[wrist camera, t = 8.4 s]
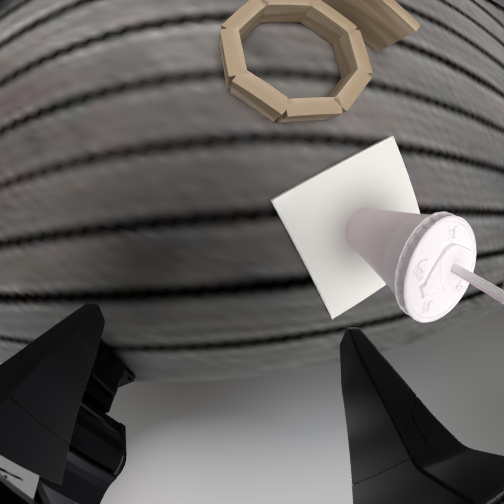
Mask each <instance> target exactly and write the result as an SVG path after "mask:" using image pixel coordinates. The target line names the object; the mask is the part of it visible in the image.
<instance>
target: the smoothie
mask: <svg viewBox="0 0 504 504" xmlns="http://www.w3.org/2000/svg"><path fill="white" fill-rule="evenodd" d="M347 238H348V241H349V243H350V245H351V246H352V247H353V248H354V250H355V251H356V252H357V253H358V254H359V255H360V256H361V257H362V258H363V259H364V260H365V261H366V262H367V263H368V264H369V265H370V266H371V268H372V269H373V270H374V271H375V272H376V273H377V274H378V275H379V276H380V277H381V278H382V280H383V281H384V282H385V283H386V284H387V285H388V286H389V288H390V289H391V290H392V291H393V292H394V293H395V297H396V300H397V302H398V304H399V307H400V308H401V309H402V310H403V311H404V312H405V313H406V314H407V315H410V316H411V317H412V318H413V319H415V320H417V321H419V322H431V321H435V320H437V319H439V318H441V317H443V316H444V315H445V314H447V313H448V312H449V311H450V310H451V309H452V308H453V307H454V306H455V305H456V304H457V303H458V302H459V300H460V299H461V298H462V296H463V294H464V293H465V291H466V289H467V287H468V285H469V283H470V284H472V285H474V286H475V287H477V288H479V289H480V290H482V291H484V292H485V293H487V294H488V295H490V296H492V297H493V298H495V299H496V300H498V301H499V302H501V303H503V304H504V290H502V289H500V288H499V287H497V286H495V285H494V284H492V283H490V282H488V281H487V280H485V279H483V278H481V277H479V276H478V275H476V274H474V273H473V271H474V267H475V261H476V242H475V237H474V234H473V231H472V229H471V227H470V225H469V224H468V223H467V222H466V221H465V220H464V219H463V218H461V217H458V216H455V215H454V214H451V213H448V212H438V213H434V214H432V215H426V214H416V213H407V212H398V211H388V210H378V209H362V210H360V211H358V212H357V213H355V214H354V215H353V217H352V218H351V220H350V221H349V224H348V227H347Z"/></svg>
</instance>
